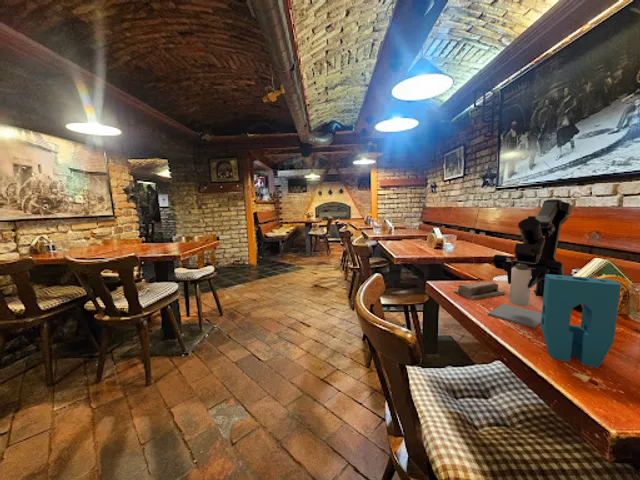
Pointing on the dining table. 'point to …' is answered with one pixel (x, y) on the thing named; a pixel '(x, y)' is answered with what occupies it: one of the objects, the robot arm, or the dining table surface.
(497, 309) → the felt mat
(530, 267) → the robot arm
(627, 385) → the dining table surface
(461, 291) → the packaged product
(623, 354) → the dining table surface
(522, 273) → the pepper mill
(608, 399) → the dining table surface
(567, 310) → the block
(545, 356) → the dining table surface
